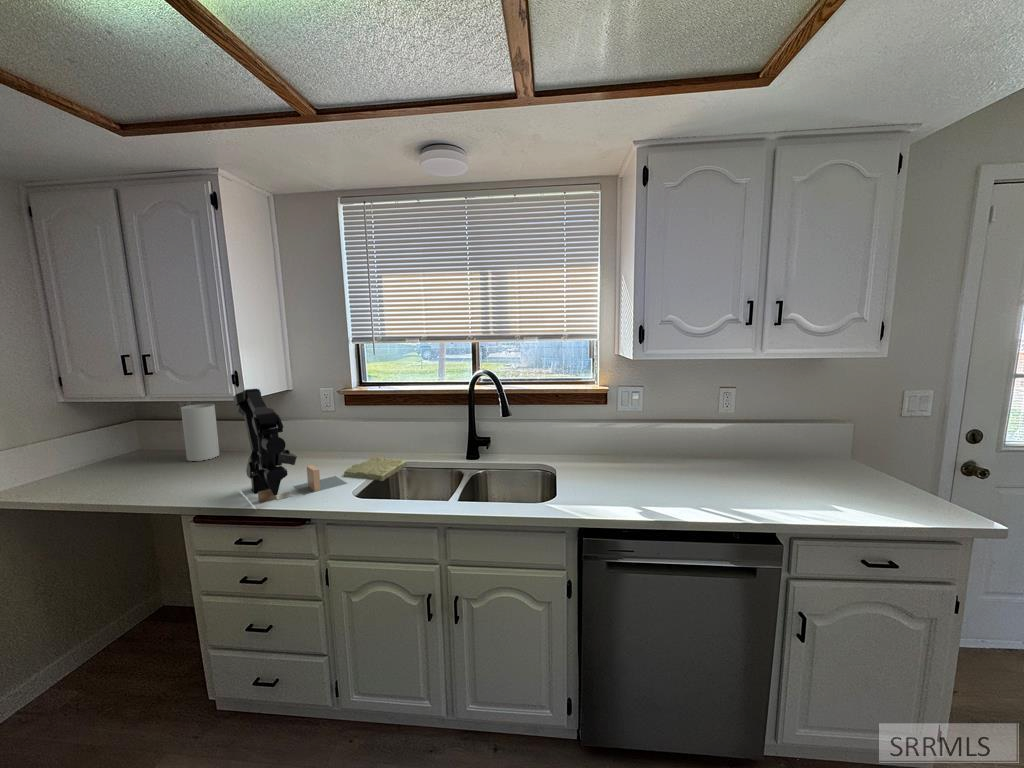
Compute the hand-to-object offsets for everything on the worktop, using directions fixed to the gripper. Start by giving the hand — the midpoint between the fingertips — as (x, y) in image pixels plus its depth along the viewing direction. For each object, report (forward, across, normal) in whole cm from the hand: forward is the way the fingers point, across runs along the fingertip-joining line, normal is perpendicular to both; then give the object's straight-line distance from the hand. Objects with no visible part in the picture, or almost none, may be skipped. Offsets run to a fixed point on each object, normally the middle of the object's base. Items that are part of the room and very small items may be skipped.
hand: (271, 491), depth 145 cm
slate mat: (+3, +2, -17) cm, 17 cm away
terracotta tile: (+3, 0, -14) cm, 14 cm away
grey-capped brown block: (+3, 0, -1) cm, 3 cm away
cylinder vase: (+4, +80, +9) cm, 81 cm away
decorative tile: (+4, +3, -40) cm, 40 cm away
